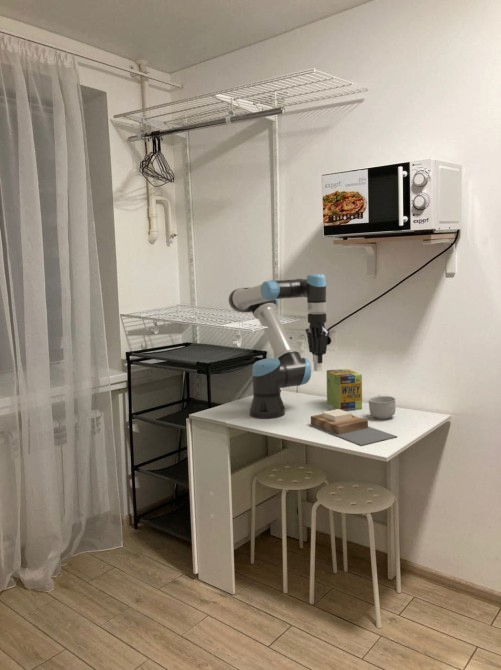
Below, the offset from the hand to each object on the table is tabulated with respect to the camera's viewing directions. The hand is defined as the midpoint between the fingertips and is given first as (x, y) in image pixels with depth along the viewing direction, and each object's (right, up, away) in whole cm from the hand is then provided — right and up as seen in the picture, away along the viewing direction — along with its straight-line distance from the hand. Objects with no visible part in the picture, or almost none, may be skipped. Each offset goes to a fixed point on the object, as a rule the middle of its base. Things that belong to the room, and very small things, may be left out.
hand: (317, 370), depth 235 cm
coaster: (+7, -18, -8) cm, 21 cm away
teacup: (+27, -19, +4) cm, 34 cm away
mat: (+11, -22, -15) cm, 29 cm away
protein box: (+14, -18, +22) cm, 31 cm away
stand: (+7, -21, -9) cm, 24 cm away
